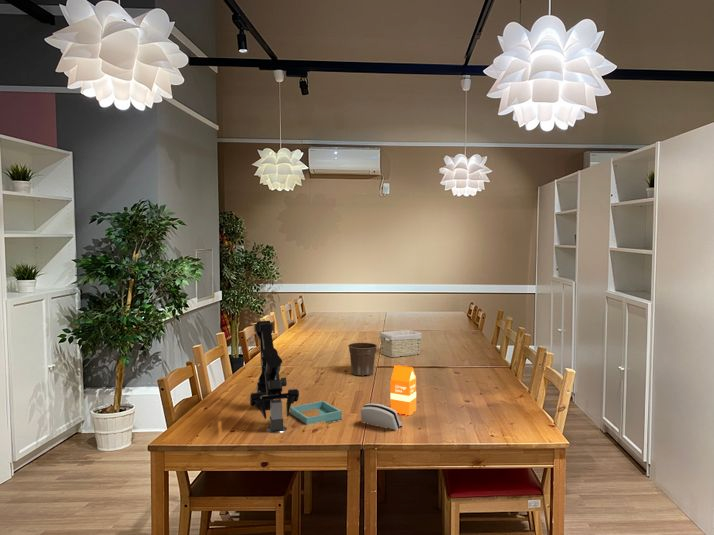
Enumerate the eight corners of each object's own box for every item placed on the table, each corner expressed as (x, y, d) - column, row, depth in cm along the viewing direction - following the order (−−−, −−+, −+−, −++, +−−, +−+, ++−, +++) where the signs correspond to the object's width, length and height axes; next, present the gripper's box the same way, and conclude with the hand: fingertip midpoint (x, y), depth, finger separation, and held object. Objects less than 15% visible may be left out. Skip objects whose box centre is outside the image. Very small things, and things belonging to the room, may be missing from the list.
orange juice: (409, 416, 209) (409, 369, 208) (390, 412, 213) (390, 366, 212) (416, 410, 216) (416, 365, 215) (397, 407, 220) (397, 362, 219)
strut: (269, 427, 192) (269, 399, 191) (281, 426, 193) (281, 398, 193) (271, 432, 188) (270, 403, 187) (283, 430, 189) (283, 402, 188)
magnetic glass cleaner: (403, 426, 196) (399, 405, 193) (397, 434, 193) (393, 413, 190) (367, 418, 206) (363, 398, 202) (361, 425, 202) (357, 405, 199)
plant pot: (378, 370, 284) (378, 342, 283) (376, 378, 268) (376, 348, 267) (350, 369, 286) (349, 342, 285) (346, 377, 270) (346, 348, 269)
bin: (290, 416, 209) (289, 407, 208) (323, 409, 217) (323, 400, 217) (306, 428, 195) (306, 418, 195) (341, 420, 204) (341, 411, 203)
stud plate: (262, 431, 192) (262, 419, 191) (282, 427, 196) (281, 415, 196) (270, 438, 185) (270, 426, 185) (290, 434, 189) (290, 421, 189)
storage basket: (409, 350, 337) (409, 328, 336) (422, 355, 323) (423, 332, 322) (378, 354, 326) (378, 331, 326) (391, 359, 312) (391, 336, 311)
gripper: (250, 372, 190) (253, 410, 180) (298, 368, 196) (303, 404, 186) (248, 387, 198) (251, 423, 188) (294, 383, 204) (300, 418, 194)
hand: (276, 417), depth 189 cm, fingers open, 8 cm apart
